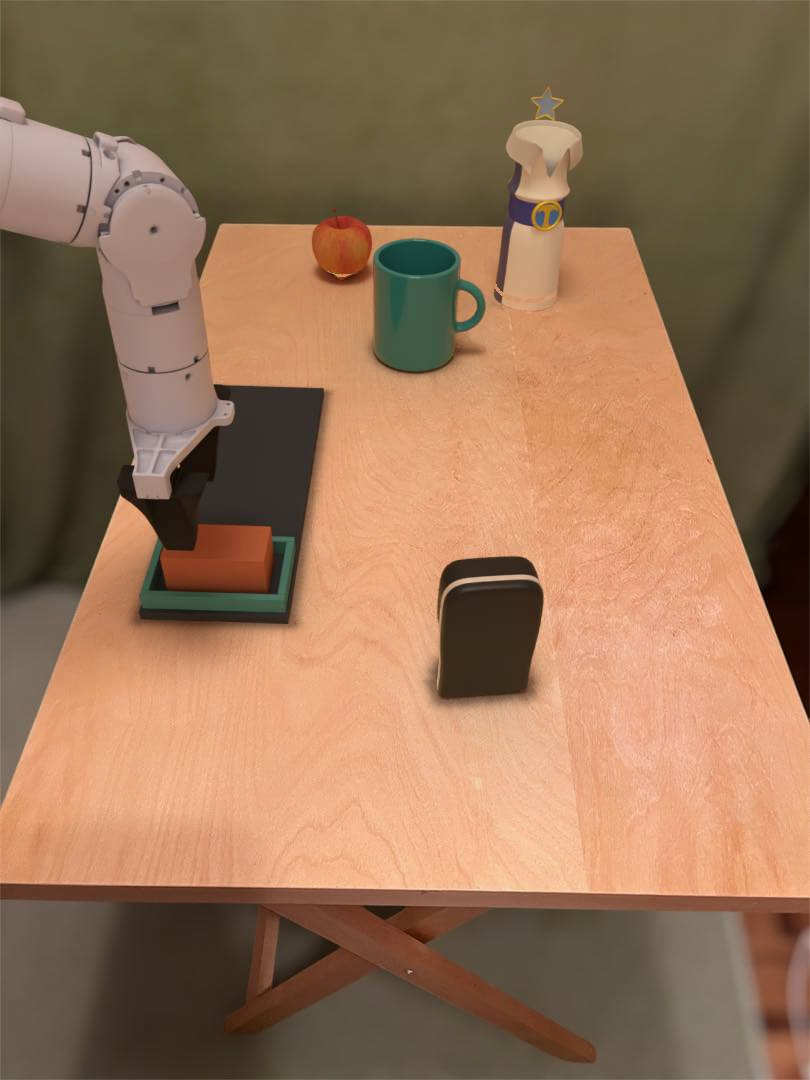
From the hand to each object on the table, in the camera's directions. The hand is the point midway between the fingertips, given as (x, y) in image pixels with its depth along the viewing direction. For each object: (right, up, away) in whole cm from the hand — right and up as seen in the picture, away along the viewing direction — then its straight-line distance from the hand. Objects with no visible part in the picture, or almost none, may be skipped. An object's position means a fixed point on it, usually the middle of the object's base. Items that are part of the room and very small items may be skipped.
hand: (191, 511), depth 67 cm
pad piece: (+1, -5, +7) cm, 9 cm away
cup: (+18, +19, +34) cm, 43 cm away
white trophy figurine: (+31, +28, +45) cm, 61 cm away
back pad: (+1, +2, +16) cm, 16 cm away
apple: (+8, +31, +48) cm, 57 cm away
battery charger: (+21, -12, +1) cm, 25 cm away
